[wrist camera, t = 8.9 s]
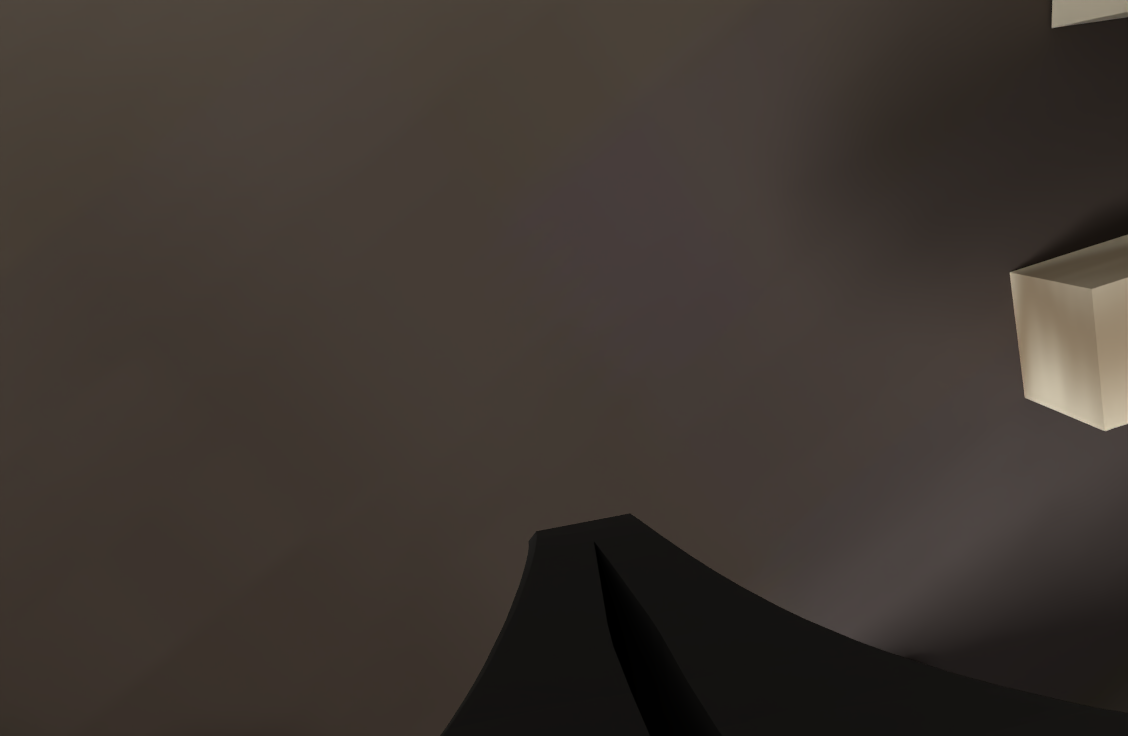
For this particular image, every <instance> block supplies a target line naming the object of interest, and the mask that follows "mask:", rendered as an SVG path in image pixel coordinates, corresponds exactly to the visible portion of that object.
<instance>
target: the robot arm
mask: <svg viewBox="0 0 1128 736" xmlns="http://www.w3.org/2000/svg"><path fill="white" fill-rule="evenodd" d="M440 736H1128V713H1124V712H1118V711H1112V710H1106V709H1100V708H1095V707H1090V706H1085V705H1080V704H1075V703H1071V702H1067V701H1062V700H1058V699H1054V698H1050V697H1045V696H1041V695H1037V694H1032V693H1028V692H1024V691H1019V690H1015V689H1011V688H1006V687H1002V686H998V685H995V684H991V683H987V682H984V681H980V680H976V679H973V678H969V677H965V676H961V675H958V674H954V673H951V672H948V671H944V670H941V669H938V668H935V667H932V666H929V665H926V664H923V663H920V662H916V661H913V660H910V659H907V658H904V657H901V656H898V655H895V654H892V653H888V652H886V651H883V650H880V649H877V648H875V647H872V646H869V645H867V644H864V643H861V642H858V641H856V640H853V639H851V638H849V637H846V636H844V635H841V634H839V633H837V632H834V631H832V630H830V629H827V628H825V627H822V626H820V625H818V624H815V623H813V622H811V621H808V620H806V619H804V618H801V617H799V616H797V615H795V614H793V613H791V612H789V611H787V610H785V609H783V608H781V607H779V606H777V605H775V604H773V603H771V602H769V601H767V600H765V599H763V598H762V597H760V596H758V595H756V594H754V593H752V592H750V591H749V590H747V589H745V588H743V587H741V586H739V585H738V584H736V583H734V582H732V581H731V580H729V579H727V578H726V577H724V576H722V575H720V574H719V573H717V572H716V571H714V570H712V569H711V568H709V567H707V566H706V565H704V564H703V563H701V562H700V561H698V560H696V559H695V558H693V557H692V556H690V555H689V554H687V553H686V552H684V551H683V550H681V549H680V548H678V547H677V546H675V545H674V544H673V543H671V542H670V541H668V540H667V539H665V538H664V537H663V536H661V535H660V534H658V533H657V532H656V531H654V530H653V529H651V528H650V527H649V526H647V525H646V524H644V523H643V522H642V521H640V520H639V519H637V518H636V517H634V516H633V515H631V514H625V515H620V516H615V517H610V518H604V519H599V520H594V521H589V522H583V523H578V524H573V525H568V526H562V527H557V528H552V529H546V530H541V531H536V532H535V534H534V535H533V536H532V538H531V539H530V540H529V550H528V556H527V561H526V565H525V569H524V572H523V575H522V579H521V582H520V585H519V588H518V590H517V593H516V596H515V598H514V601H513V603H512V606H511V609H510V611H509V614H508V616H507V619H506V621H505V623H504V626H503V628H502V630H501V632H500V634H499V636H498V638H497V640H496V642H495V644H494V646H493V648H492V650H491V652H490V654H489V656H488V659H487V661H486V663H485V665H484V667H483V668H482V670H481V672H480V674H479V676H478V677H477V679H476V681H475V683H474V684H473V686H472V688H471V690H470V691H469V693H468V694H467V696H466V698H465V699H464V701H463V703H462V704H461V706H460V707H459V709H458V710H457V712H456V713H455V715H454V716H453V718H452V720H451V721H450V723H449V724H448V726H447V727H446V729H445V730H444V731H443V733H442V734H441V735H440Z"/></svg>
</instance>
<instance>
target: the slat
mask: <svg viewBox="0 0 1128 736" xmlns="http://www.w3.org/2000/svg"><path fill="white" fill-rule="evenodd" d="M1010 279H1011V288H1012V296H1013V304H1014V312H1015V320H1016V328H1017V337H1018V345H1019V353H1020V361H1021V369H1022V378H1023V386H1024V394H1025V398H1027V399H1030V400H1032V401H1034V402H1037V403H1039V404H1041V405H1044V406H1046V407H1049V408H1051V409H1053V410H1056V411H1058V412H1060V413H1063V414H1065V415H1068V416H1070V417H1072V418H1075V419H1077V420H1079V421H1082V422H1084V423H1087V424H1089V425H1091V426H1094V427H1096V428H1099V429H1101V430H1103V431H1107V430H1110V429H1113V428H1116V427H1119V426H1122V425H1125V424H1128V235H1125V236H1121V237H1118V238H1115V239H1112V240H1109V241H1106V242H1103V243H1100V244H1096V245H1093V246H1090V247H1087V248H1084V249H1081V250H1078V251H1075V252H1071V253H1068V254H1065V255H1062V256H1059V257H1056V258H1053V259H1050V260H1046V261H1043V262H1040V263H1037V264H1034V265H1031V266H1028V267H1025V268H1021V269H1018V270H1015V271H1012V272H1010Z"/></svg>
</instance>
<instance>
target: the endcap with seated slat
mask: <svg viewBox="0 0 1128 736" xmlns="http://www.w3.org/2000/svg"><path fill="white" fill-rule="evenodd" d="M1127 17H1128V0H1052V28H1056V27H1063V26H1070V25H1077V24H1085V23H1092V22H1099V21H1106V20H1113V19H1120V18H1127Z"/></svg>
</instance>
